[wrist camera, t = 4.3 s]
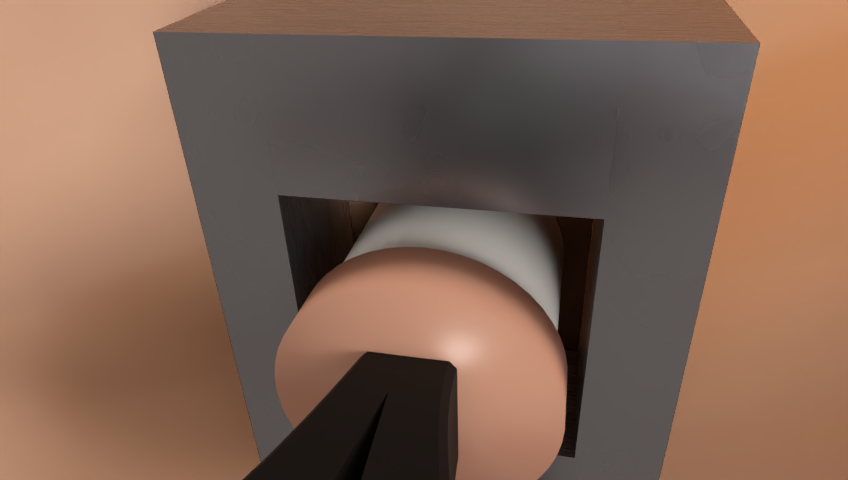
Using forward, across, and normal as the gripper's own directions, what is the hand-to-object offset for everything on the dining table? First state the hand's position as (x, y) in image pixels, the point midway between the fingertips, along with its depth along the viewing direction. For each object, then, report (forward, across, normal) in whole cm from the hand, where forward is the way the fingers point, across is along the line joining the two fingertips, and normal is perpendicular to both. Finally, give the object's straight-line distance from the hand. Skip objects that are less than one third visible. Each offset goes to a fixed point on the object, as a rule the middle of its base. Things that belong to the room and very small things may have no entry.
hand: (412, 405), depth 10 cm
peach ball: (+4, 0, 0) cm, 4 cm away
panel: (+5, 0, +7) cm, 8 cm away
